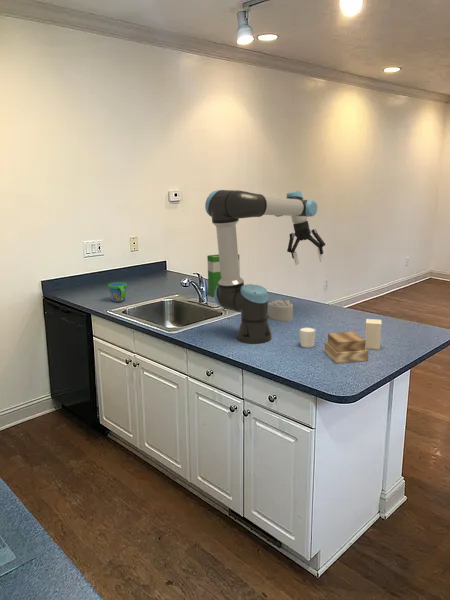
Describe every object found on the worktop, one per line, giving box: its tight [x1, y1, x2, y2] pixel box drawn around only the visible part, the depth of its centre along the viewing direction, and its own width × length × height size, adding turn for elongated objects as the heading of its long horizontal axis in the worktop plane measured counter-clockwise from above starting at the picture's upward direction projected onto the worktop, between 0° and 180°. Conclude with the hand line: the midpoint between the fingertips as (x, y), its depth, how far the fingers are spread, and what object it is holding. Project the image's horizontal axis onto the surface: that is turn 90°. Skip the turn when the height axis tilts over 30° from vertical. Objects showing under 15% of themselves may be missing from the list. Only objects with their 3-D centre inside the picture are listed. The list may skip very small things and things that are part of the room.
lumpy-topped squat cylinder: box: [268, 299, 294, 322], centre depth 250 cm, size 10×13×9 cm
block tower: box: [323, 331, 369, 364], centre depth 197 cm, size 13×13×8 cm
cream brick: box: [364, 318, 382, 350], centre depth 207 cm, size 6×6×11 cm
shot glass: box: [299, 327, 317, 349], centre depth 210 cm, size 7×7×7 cm
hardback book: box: [206, 253, 241, 298], centre depth 299 cm, size 18×7×24 cm, turn 117°
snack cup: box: [107, 281, 128, 303], centre depth 290 cm, size 16×10×10 cm
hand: (309, 262), depth 253 cm, fingers open, 13 cm apart
